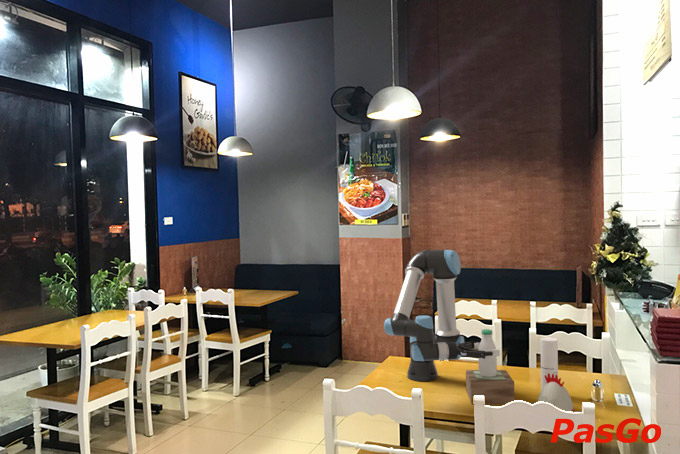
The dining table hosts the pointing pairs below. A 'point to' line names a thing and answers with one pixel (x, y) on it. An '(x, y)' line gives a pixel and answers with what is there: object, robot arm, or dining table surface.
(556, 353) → the cylindrical container
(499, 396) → the walnut stand
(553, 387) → the kitchen timer
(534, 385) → the dining table surface
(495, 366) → the milk bottle
